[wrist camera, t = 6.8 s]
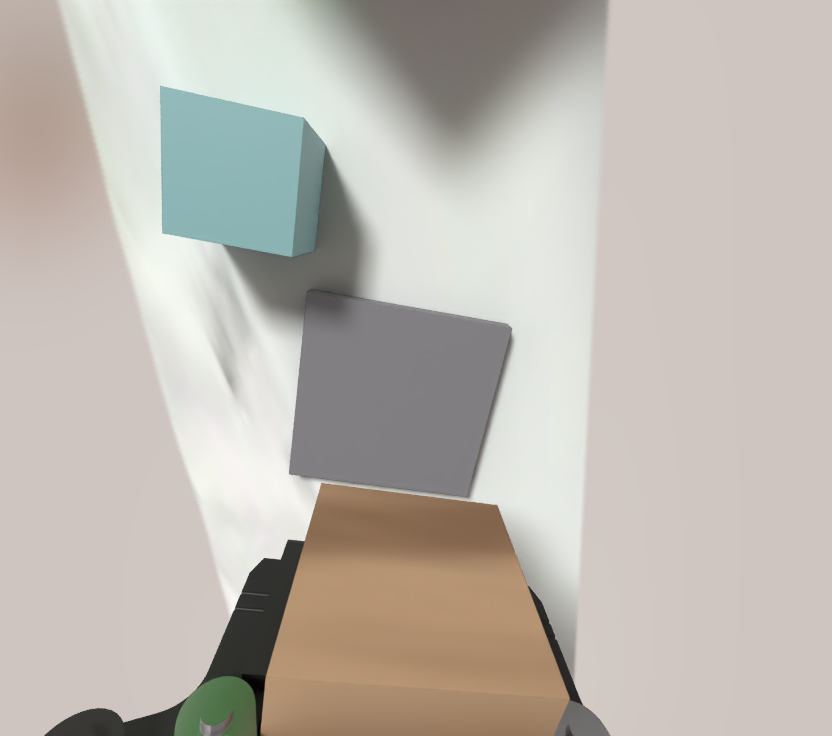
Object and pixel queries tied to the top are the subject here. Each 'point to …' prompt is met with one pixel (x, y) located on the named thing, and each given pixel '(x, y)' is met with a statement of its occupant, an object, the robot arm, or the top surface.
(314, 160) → the teal block
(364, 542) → the tan block
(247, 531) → the top surface
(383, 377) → the mat
